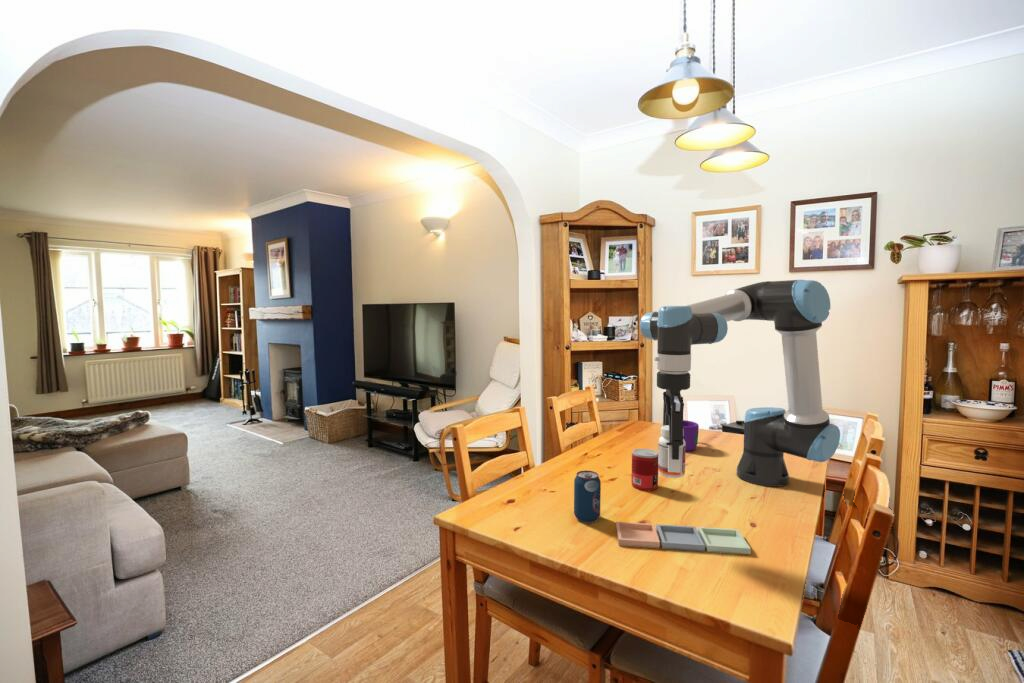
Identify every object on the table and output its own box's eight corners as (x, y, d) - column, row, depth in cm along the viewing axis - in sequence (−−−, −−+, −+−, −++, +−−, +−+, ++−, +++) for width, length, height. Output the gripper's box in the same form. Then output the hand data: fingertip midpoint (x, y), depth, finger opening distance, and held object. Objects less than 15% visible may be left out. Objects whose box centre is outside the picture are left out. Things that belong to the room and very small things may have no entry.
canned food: (659, 492, 146) (659, 456, 145) (631, 490, 148) (632, 455, 147) (656, 482, 154) (657, 449, 153) (630, 481, 155) (631, 447, 154)
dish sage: (737, 535, 119) (737, 529, 119) (750, 554, 110) (750, 548, 110) (697, 532, 121) (697, 526, 120) (707, 551, 111) (707, 545, 111)
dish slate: (695, 532, 121) (695, 526, 121) (704, 551, 111) (704, 545, 111) (656, 529, 122) (656, 524, 122) (662, 548, 113) (662, 542, 113)
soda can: (600, 525, 125) (600, 479, 124) (573, 522, 126) (573, 478, 125) (600, 513, 132) (600, 470, 131) (574, 511, 133) (574, 468, 132)
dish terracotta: (653, 529, 122) (654, 524, 122) (659, 548, 113) (659, 542, 113) (616, 527, 123) (616, 521, 123) (618, 545, 114) (618, 539, 114)
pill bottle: (672, 468, 120) (672, 423, 119) (690, 476, 114) (691, 429, 113) (652, 471, 117) (653, 426, 116) (670, 480, 112) (671, 432, 111)
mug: (695, 454, 183) (696, 428, 182) (664, 449, 188) (665, 424, 188) (702, 442, 198) (703, 418, 197) (673, 438, 203) (674, 415, 203)
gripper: (652, 365, 124) (650, 453, 126) (662, 377, 105) (661, 480, 107) (682, 366, 123) (680, 454, 125) (699, 378, 104) (696, 482, 106)
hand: (671, 466), depth 116 cm, fingers closed on pill bottle, 6 cm apart
